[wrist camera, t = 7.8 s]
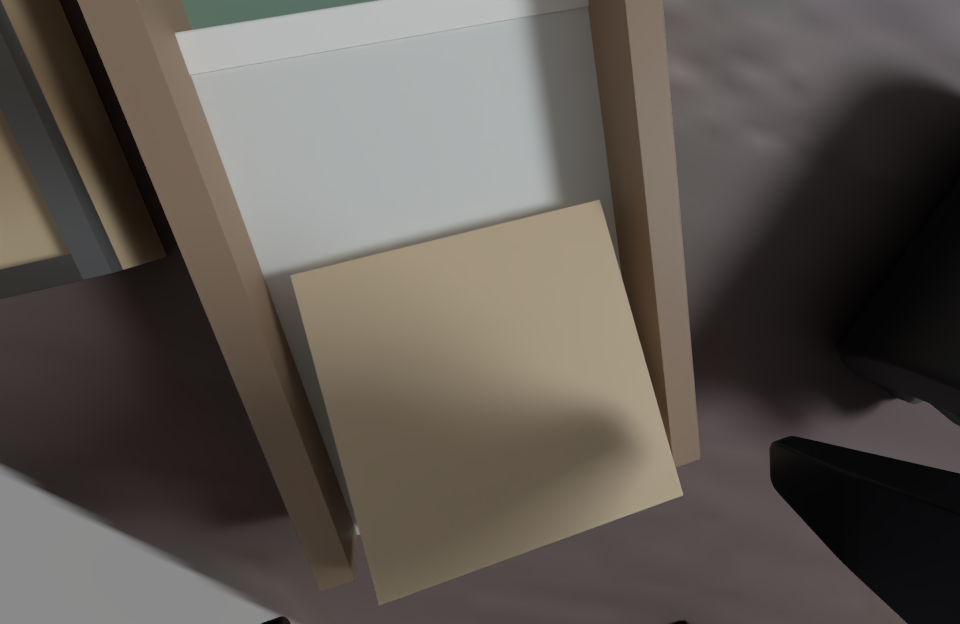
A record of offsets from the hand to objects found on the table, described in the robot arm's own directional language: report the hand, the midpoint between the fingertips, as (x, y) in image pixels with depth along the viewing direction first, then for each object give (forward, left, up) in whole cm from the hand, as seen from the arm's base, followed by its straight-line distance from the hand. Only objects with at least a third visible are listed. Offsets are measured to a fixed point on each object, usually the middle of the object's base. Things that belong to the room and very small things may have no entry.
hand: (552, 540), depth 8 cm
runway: (+7, 0, -6) cm, 9 cm away
